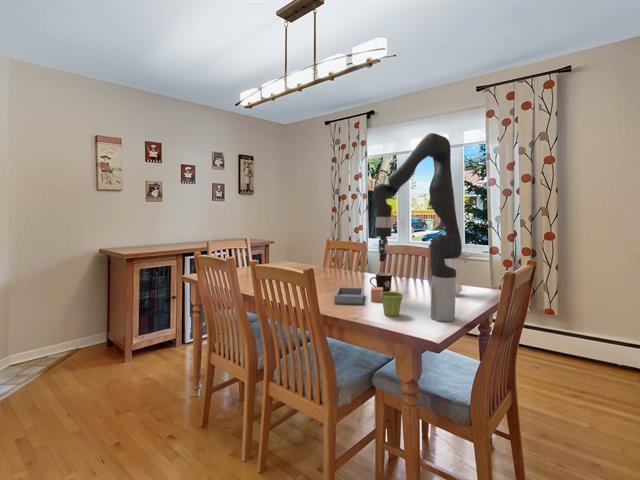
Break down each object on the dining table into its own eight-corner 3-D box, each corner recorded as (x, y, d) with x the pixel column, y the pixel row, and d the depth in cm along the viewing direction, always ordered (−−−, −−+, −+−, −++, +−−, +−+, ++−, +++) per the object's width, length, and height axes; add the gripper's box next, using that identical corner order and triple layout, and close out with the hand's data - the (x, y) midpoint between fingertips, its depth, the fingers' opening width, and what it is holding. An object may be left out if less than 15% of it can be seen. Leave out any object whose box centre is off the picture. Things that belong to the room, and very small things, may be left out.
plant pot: (386, 310, 154) (387, 290, 153) (407, 314, 148) (407, 293, 147) (375, 315, 147) (376, 294, 146) (396, 319, 141) (396, 298, 140)
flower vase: (472, 293, 183) (474, 245, 181) (455, 299, 171) (456, 248, 169) (448, 289, 193) (450, 243, 191) (430, 295, 180) (432, 246, 178)
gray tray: (362, 304, 162) (362, 296, 162) (334, 303, 164) (334, 295, 164) (363, 295, 180) (363, 288, 180) (338, 294, 182) (338, 287, 182)
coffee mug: (391, 291, 189) (391, 272, 188) (392, 295, 181) (393, 275, 180) (369, 290, 190) (369, 272, 190) (369, 294, 182) (370, 275, 181)
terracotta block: (382, 302, 167) (382, 289, 166) (371, 301, 168) (371, 289, 167) (382, 299, 172) (382, 287, 172) (371, 299, 173) (371, 287, 173)
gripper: (390, 227, 161) (389, 262, 162) (392, 225, 175) (391, 258, 176) (373, 227, 163) (373, 262, 164) (377, 225, 177) (376, 257, 178)
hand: (382, 260), depth 170 cm, fingers open, 8 cm apart
